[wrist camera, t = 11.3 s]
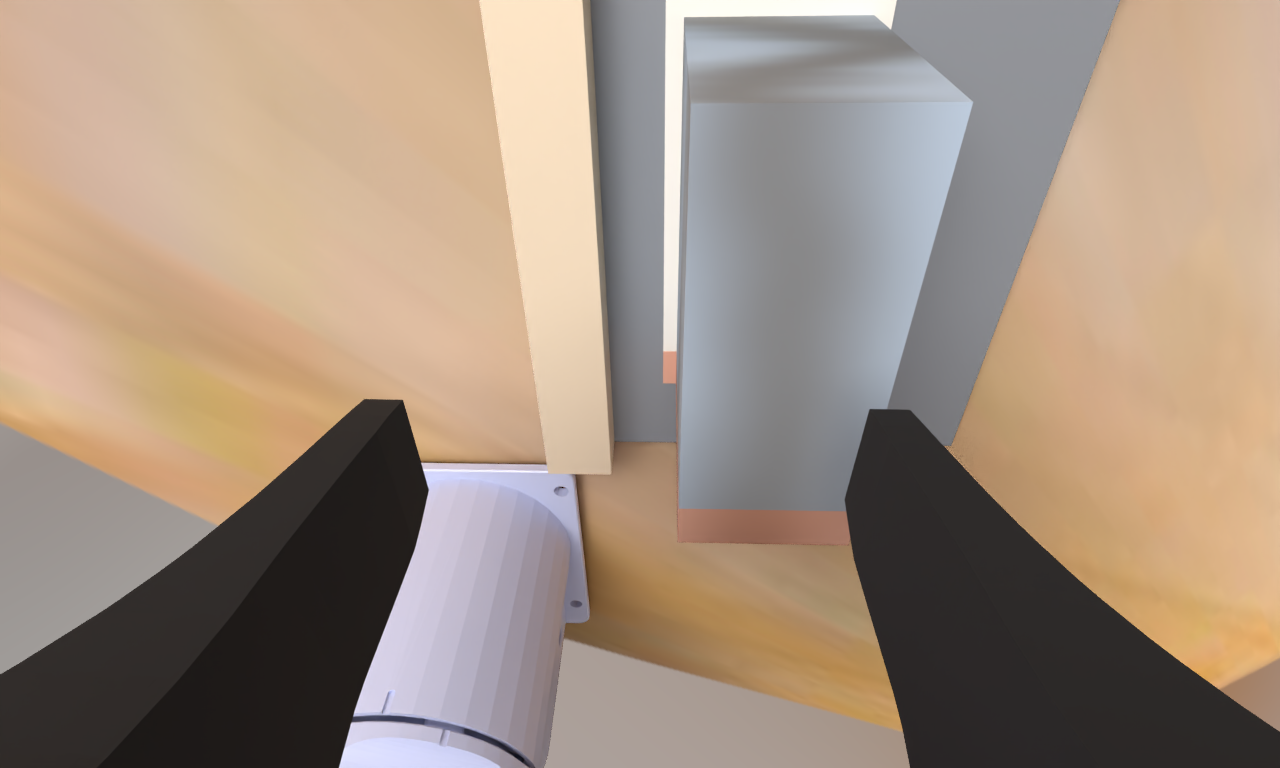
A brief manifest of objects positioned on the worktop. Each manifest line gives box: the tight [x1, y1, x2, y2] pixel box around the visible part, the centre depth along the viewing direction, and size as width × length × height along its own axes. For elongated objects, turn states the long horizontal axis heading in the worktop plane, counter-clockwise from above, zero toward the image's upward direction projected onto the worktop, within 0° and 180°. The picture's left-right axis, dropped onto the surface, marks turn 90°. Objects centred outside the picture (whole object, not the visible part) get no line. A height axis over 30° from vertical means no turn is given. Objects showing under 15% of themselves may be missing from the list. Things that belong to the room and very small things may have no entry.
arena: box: [479, 0, 1120, 475], centre depth 17 cm, size 17×13×2 cm
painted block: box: [676, 15, 973, 545], centre depth 15 cm, size 4×10×6 cm, turn 1°
